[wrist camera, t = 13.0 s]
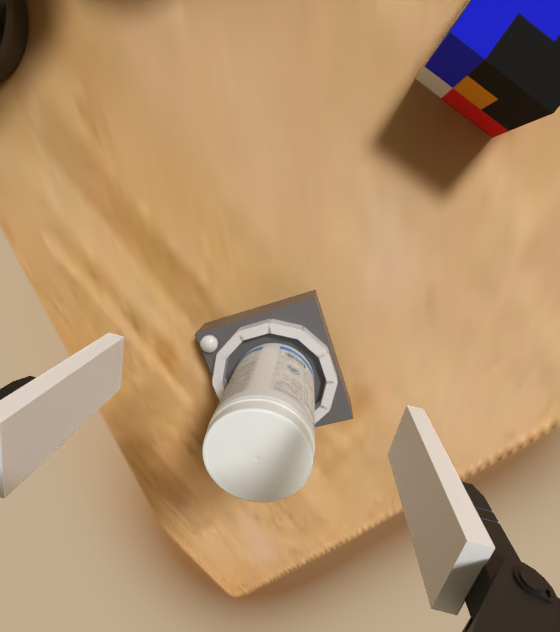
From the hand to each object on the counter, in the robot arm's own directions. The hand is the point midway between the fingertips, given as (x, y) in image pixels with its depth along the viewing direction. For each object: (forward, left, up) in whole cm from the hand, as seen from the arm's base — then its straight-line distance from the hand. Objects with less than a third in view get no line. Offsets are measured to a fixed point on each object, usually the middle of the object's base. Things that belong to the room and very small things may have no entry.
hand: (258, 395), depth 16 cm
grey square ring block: (+10, -6, -28) cm, 31 cm away
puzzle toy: (-15, +25, -29) cm, 41 cm away
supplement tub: (+10, -6, -24) cm, 27 cm away
